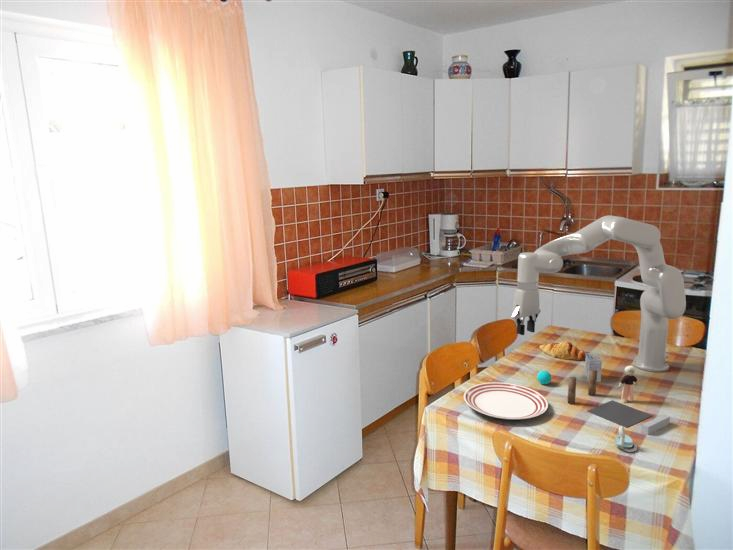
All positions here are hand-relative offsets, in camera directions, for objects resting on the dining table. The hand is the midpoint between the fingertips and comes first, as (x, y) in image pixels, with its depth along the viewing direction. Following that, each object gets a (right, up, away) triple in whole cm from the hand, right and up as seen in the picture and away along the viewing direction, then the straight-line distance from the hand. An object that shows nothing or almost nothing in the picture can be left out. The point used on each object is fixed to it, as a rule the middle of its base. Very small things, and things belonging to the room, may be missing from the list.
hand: (525, 332), depth 206 cm
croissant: (+23, -13, +25) cm, 36 cm away
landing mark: (+22, -23, -29) cm, 43 cm away
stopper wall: (+29, -25, -39) cm, 54 cm away
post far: (+10, -22, -21) cm, 31 cm away
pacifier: (+14, -28, -49) cm, 58 cm away
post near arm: (+19, -20, -14) cm, 31 cm away
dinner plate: (-13, -23, -22) cm, 35 cm away
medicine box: (+25, -18, 0) cm, 31 cm away
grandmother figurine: (+29, -21, -20) cm, 41 cm away
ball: (+5, -16, -5) cm, 18 cm away
